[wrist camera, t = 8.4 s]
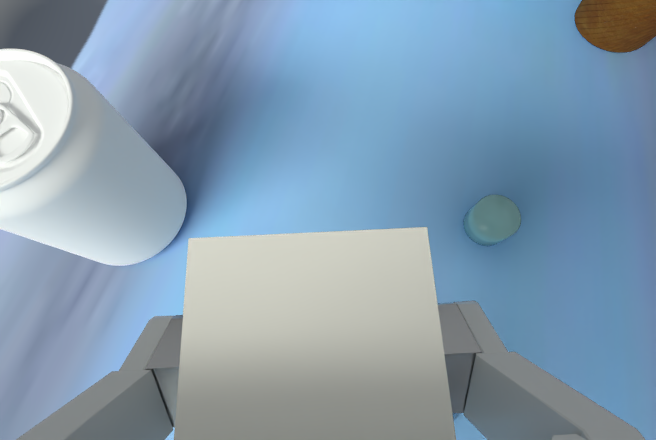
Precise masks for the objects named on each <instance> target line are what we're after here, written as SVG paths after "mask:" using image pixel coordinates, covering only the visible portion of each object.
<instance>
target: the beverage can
mask: <svg viewBox="0 0 656 440" xmlns="http://www.w3.org/2000/svg"><path fill="white" fill-rule="evenodd" d="M186 208H187V198H186V192H185V189H184V186H183V184H182V182H181V180H180V178H179V177H178V176H177V174H176V173H175V172H174V171H173V170H172V169H171V168H170V167H169V166H168V165H167V164H166V163H165V162H164V160H163V159H162V158H161V157H160V156H159V155H158V154H157V153H156V152H155V151H154V150H153V149H152V148H151V147H150V146H149V144H148V143H147V142H146V141H145V140H144V139H143V138H142V137H141V136H140V135H139V134H138V133H137V132H136V131H135V130H134V128H133V127H132V126H131V125H130V124H129V123H128V122H127V121H126V120H125V119H124V118H123V117H122V116H121V115H120V114H119V112H118V111H117V110H116V109H115V108H114V107H113V106H112V105H111V104H110V103H109V102H108V101H107V100H106V99H105V98H104V96H103V95H102V94H101V93H100V92H99V91H98V90H97V89H96V88H95V87H94V86H93V85H92V84H91V83H90V82H89V81H88V80H87V79H86V78H85V77H83V76H82V75H81V74H79V73H78V72H76V71H74V70H72V69H70V68H68V67H66V66H64V65H61V64H58V63H55V62H54V61H52V60H51V59H49V58H48V57H46V56H43V55H41V54H39V53H36V52H32V51H28V50H22V49H0V229H2V230H5V231H8V232H11V233H14V234H17V235H20V236H23V237H26V238H29V239H32V240H35V241H38V242H41V243H44V244H47V245H50V246H53V247H56V248H59V249H62V250H65V251H68V252H70V253H73V254H76V255H79V256H82V257H85V258H88V259H91V260H94V261H97V262H100V263H104V264H108V265H114V266H124V265H131V264H136V263H139V262H142V261H145V260H147V259H149V258H151V257H153V256H155V255H156V254H158V253H159V252H160V251H162V250H163V249H164V248H165V247H166V246H167V245H168V244H169V243H170V242H171V241H172V240H173V239H174V238H175V236H176V235H177V233H178V232H179V230H180V228H181V226H182V224H183V221H184V218H185V214H186Z"/></svg>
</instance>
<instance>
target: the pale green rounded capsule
mask: <svg viewBox="0 0 656 440" xmlns="http://www.w3.org/2000/svg"><path fill="white" fill-rule="evenodd" d="M520 224H521V215H520V212H519V209H518V208H517V206H516V205H515V204H514V203H513V202H512V201H511V200H510V199H508V198H506V197H504V196H501V195H489V196H486V197H484V198H482V199H481V200H480V201H479V202H478V203H477V204H476V205H475V206H473V207H472V208H471V209H470V210H469V211H468V212H467V214H466V215H465V218H464V229H465V232H466V234H467V235H468V236H469V238H470V239H471V240H473V241H474V242H476V243H477V244H480V245H484V246H491V245H495V244H497V243H499V242H501V241H502V240H504V239H506V238H508V237H509V236H511V235H513V234H514V233H515V232H516V231H517V230H518V229H519V227H520Z"/></svg>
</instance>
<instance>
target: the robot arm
mask: <svg viewBox="0 0 656 440" xmlns="http://www.w3.org/2000/svg"><path fill="white" fill-rule="evenodd" d="M437 304H438V311H439V319H440V326H441V333H442V341H443V348H444V355H445V363H446V370H447V377H448V385H449V392H450V399H451V407H452V413H464V416H465V417H466V418H467V419H468V420H469V421H470V422H471V423H472V424H473V425H474V426H475V427H476V428H477V429H478V430H479V431H480V432H481V433H482V434H483V435H484V436H485V437H486V438H487V439H488V440H645V438H644V437H643V436H642V435H641V433H640V432H639V431H638V430H637V429H636V428H634V427H633V426H631V425H629V424H628V423H626V422H625V421H623V420H622V419H620V418H618V417H617V416H615V415H614V414H612V413H611V412H609V411H607V410H606V409H604V408H603V407H601V406H600V405H598V404H596V403H595V402H593V401H592V400H590V399H588V398H587V397H585V396H584V395H582V394H581V393H579V392H577V391H576V390H574V389H573V388H571V387H570V386H568V385H566V384H565V383H563V382H562V381H560V380H559V379H557V378H555V377H554V376H552V375H551V374H549V373H548V372H546V371H544V370H543V369H541V368H540V367H538V366H537V365H535V364H533V363H532V362H530V361H529V360H527V359H526V358H524V357H522V356H521V355H519V354H518V353H516V352H508V351H507V349H506V347H505V346H504V344H503V343H502V341H501V339H500V338H499V336H498V335H497V333H496V331H495V330H494V328H493V326H492V325H491V323H490V322H489V320H488V318H487V317H486V315H485V313H484V312H483V310H482V309H481V307H480V305H479V304H478V303H477V302H476V301H462V302H453V303H437ZM182 323H183V315H176V316H155V317H153V318H152V319H150V320H149V322H148V323H147V325H146V327H145V328H144V330H143V331H142V333H141V335H140V336H139V338H138V340H137V341H136V343H135V345H134V346H133V348H132V350H131V351H130V353H129V355H128V356H127V358H126V360H125V361H124V363H123V365H122V366H121V368H120V370H119V371H114V372H111V373H109V374H108V375H106V376H105V377H104V378H102V379H101V380H99V381H98V382H97V383H95V384H94V385H92V386H91V387H89V388H88V389H87V390H85V391H84V392H82V393H81V394H80V395H78V396H77V397H75V398H74V399H73V400H71V401H70V402H68V403H67V404H66V405H64V406H63V407H61V408H60V409H58V410H57V411H56V412H54V413H53V414H51V415H50V416H49V417H47V418H46V419H44V420H43V421H42V422H40V423H39V424H37V425H36V426H35V427H33V428H32V429H30V430H29V431H28V432H26V433H25V434H23V435H22V436H20V437H19V438H18V439H16V440H165V439H166V437H167V436H168V435H169V434H170V433H171V432H172V431H173V427H175V419H176V405H177V392H178V378H179V364H180V351H181V337H182Z"/></svg>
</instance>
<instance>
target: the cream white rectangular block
mask: <svg viewBox="0 0 656 440" xmlns="http://www.w3.org/2000/svg"><path fill="white" fill-rule="evenodd" d="M174 440H456V436H455V429H454V421H453V414H452V407H451V399H450V392H449V385H448V377H447V370H446V363H445V355H444V348H443V341H442V333H441V326H440V319H439V311H438V304H437V297H436V289H435V282H434V275H433V267H432V260H431V253H430V245H429V238H428V231H427V227H418V228H397V229H376V230H355V231H334V232H313V233H292V234H271V235H250V236H229V237H208V238H189V241H188V255H187V269H186V282H185V296H184V310H183V323H182V337H181V351H180V364H179V378H178V392H177V405H176V419H175V432H174Z"/></svg>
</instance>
